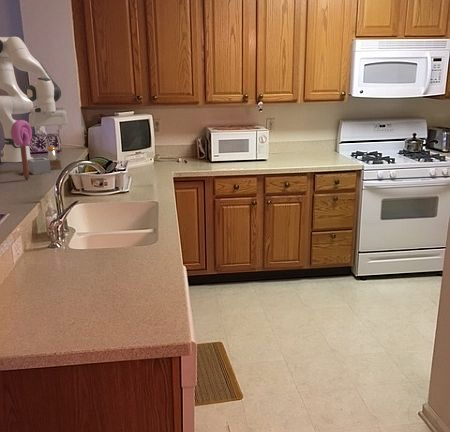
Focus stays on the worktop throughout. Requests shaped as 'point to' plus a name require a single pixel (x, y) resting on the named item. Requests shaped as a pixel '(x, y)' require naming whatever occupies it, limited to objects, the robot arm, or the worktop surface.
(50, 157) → the pin
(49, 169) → the socket
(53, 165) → the mount
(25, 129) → the lollipop
